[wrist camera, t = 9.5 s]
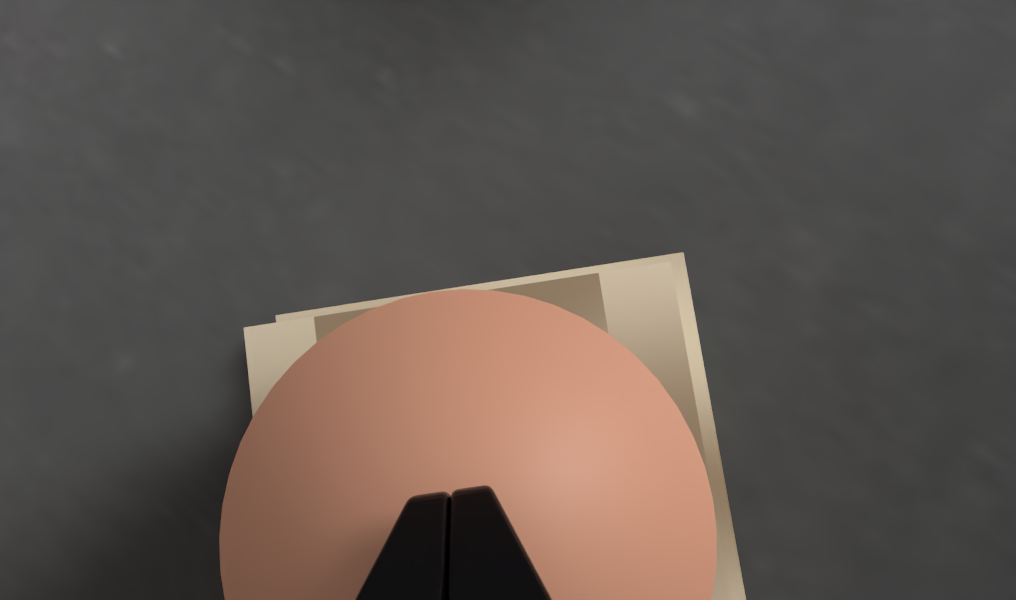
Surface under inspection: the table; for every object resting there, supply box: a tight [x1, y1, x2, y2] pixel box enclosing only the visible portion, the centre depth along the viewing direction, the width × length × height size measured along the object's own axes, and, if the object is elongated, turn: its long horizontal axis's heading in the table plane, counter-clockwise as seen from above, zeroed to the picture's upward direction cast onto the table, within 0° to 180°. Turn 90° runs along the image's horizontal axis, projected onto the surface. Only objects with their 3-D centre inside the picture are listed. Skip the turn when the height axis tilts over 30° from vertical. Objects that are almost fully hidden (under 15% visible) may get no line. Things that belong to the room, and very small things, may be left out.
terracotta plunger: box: [219, 289, 717, 600], centre depth 13 cm, size 5×5×6 cm
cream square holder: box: [244, 252, 746, 600], centre depth 15 cm, size 8×8×6 cm
